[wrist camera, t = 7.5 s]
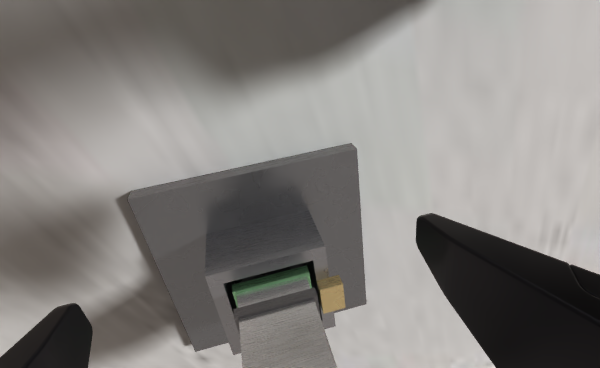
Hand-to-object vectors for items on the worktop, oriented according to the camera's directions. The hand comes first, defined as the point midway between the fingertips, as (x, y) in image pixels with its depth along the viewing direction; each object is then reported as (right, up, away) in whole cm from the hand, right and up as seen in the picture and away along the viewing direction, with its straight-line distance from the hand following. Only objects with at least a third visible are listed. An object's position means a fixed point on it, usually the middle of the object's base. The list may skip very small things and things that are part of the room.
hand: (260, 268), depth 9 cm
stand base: (-1, -3, +16) cm, 16 cm away
